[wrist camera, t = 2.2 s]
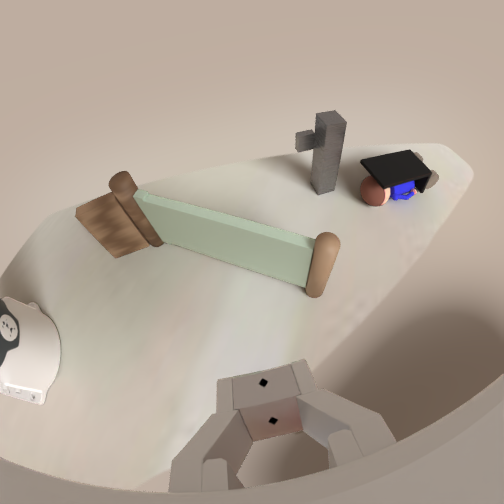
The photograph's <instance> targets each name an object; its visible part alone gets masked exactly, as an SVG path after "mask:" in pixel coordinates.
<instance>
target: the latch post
mask: <svg viewBox="0 0 504 504" xmlns="http://www.w3.org/2000/svg"><path fill="white" fill-rule="evenodd" d="M315 124H316V125H315V133H314V132H313V131H312V130H307V131H302V132H297V133H296V147H295V149H296V150H297V151H298V152H303V151H306V150H311V149H313V161H312V172H311V184H312V186H313V187H314V189H315V190H316V192H317V194H318V195H320V194H324V193H327V192H331V191H334V190H335V185H336V180H337V175H338V169H339V164H340V159H341V153H342V148H343V142H344V136H345V130H346V124H347V122H346V121H345V120H344V119H343V118H342V117H341V116H340V115H339V114H338V113H337V112H336V111H335V110H334V111H329V112H322V113H317V114H316V123H315Z"/></svg>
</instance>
